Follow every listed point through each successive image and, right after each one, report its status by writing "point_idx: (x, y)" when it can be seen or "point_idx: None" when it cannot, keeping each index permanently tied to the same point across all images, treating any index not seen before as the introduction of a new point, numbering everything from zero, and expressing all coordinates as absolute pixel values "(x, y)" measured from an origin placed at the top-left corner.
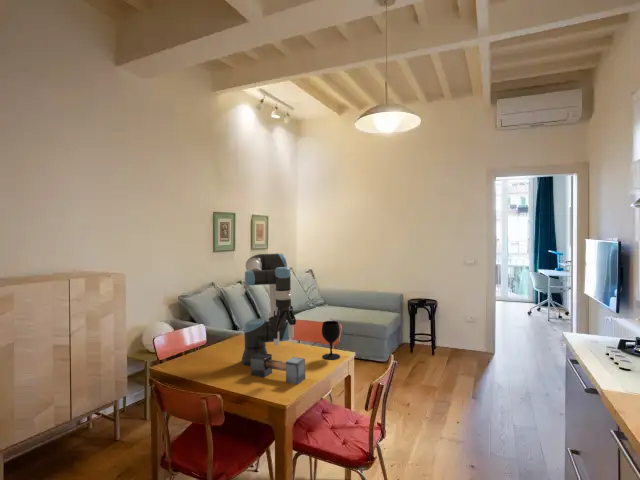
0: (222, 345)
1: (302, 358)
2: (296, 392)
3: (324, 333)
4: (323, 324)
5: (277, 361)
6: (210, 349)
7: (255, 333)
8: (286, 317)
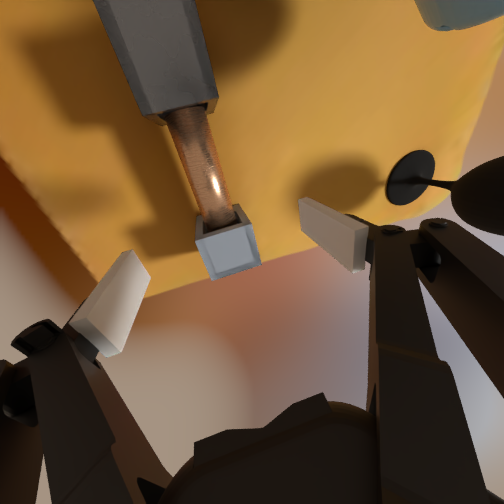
0: None
1: (258, 258)
2: (175, 278)
3: (485, 192)
4: None
5: (199, 175)
6: None
7: None
8: (373, 332)
